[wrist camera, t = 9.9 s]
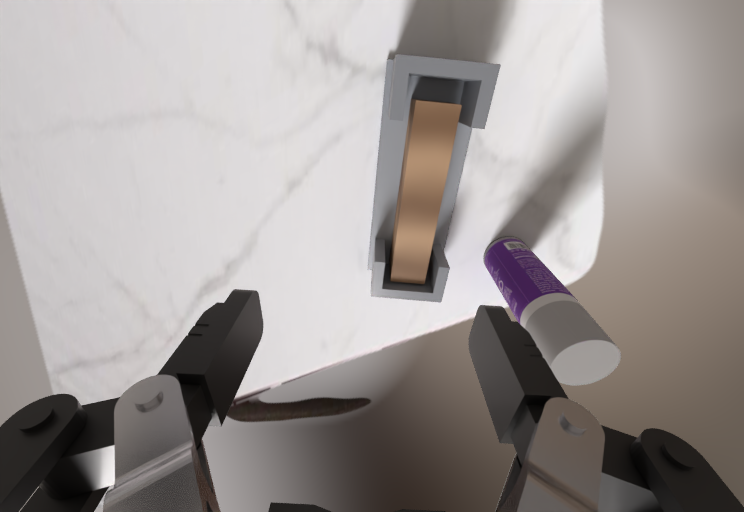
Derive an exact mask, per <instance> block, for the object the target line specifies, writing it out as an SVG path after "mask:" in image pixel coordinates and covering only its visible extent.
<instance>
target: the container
mask: <svg viewBox="0 0 744 512" xmlns="http://www.w3.org/2000/svg"><path fill="white" fill-rule="evenodd" d="M484 264H485V266H486V268H487V269H488V271H489V273H490V275H491V276H492V278H493V280H494V281H495V283H496V285H497V286H498V288H499V290H500V292H501V293H502V295H503V297H504V298H505V300H506V302H507V303H508V305H509V307H510V308H511V310H512V312H513V314H514V315H515V317H516V319H517V320H518V322H519V324H520V325H521V326H523V327H524V328H525V329H526V330H527V331H528V332H529V333H530V335H531V336H532V338H533V340H534V341H535V343H536V345H537V348H539V350H540V352H541V353H542V355H543V358H545V360H546V362H547V363H548V365H549V367H550V368H551V370H552V372H553V373H554V375H555V377H556V379H557V380H558V381H559V382H561V383H563V384H567V385H585V384H589V383H593V382H596V381H598V380H600V379H602V378H604V377H606V376H607V375H609V374H610V373H611V372H612V371H613V370H614V369H615V368H616V367H617V365H618V364H619V362H620V359H621V353H620V350H619V348H618V347H617V346H616V345H615V343H614V342H613V341H612V340H611V339H610V338H609V337H608V335H607V334H606V333H605V332H604V331H603V330H602V329H601V327H600V326H599V325H598V324H597V323H596V321H595V320H594V319H593V318H592V317H591V316H590V315H589V313H588V312H587V311H586V310H585V309H584V308H583V307H582V305H581V304H580V303H579V302H578V300H577V299H576V298H575V297H574V296H573V295H572V294H571V293H570V292H569V291H568V290H567V289H566V287H565V286H564V285H563V284H562V283H561V282H560V281H559V280H558V279H557V278H556V277H555V276H554V275H553V273H552V272H551V271H550V270H549V269H548V268H547V267H546V266H545V265H544V264H543V263H542V262H541V261H540V260H539V258H538V257H537V256H536V255H535V254H534V253H533V252H532V251H531V250H530V249H529V248H528V247H527V246H526V244H525V243H524V242H523V241H521V240H520V239H518V238H515V237H503V238H500V239H498V240H496V241H494V242H493V243H491V244H490V245H489V246H488V248H487V249H486V251H485V253H484Z"/></svg>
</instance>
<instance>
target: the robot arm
mask: <svg viewBox="0 0 744 512" xmlns="http://www.w3.org/2000/svg"><path fill="white" fill-rule="evenodd" d="M262 333H263V318H262V312H261V306H260V300H259V294H258V292H257V291H254V290H238V289H235V290H233V291H232V292H231V294H230V295H229V297H228V298H227V300H226V301H225V302H224V303H216V304H215V305H213V306H212V307H211V308H209V309H208V310H206V311H205V312H204V313H203V314H202V316H201V317H200V318H199V320H198V321H197V322H196V324H195V326H193V328H192V329H191V330H190V332H189V333H188V336H186V337H185V338H184V340H183V341H182V342H181V344H180V345H179V346H178V348H177V349H176V350H175V352H174V353H173V354H172V356H171V357H170V358H169V360H168V361H167V362H166V364H165V365H164V366H163V368H162V369H161V370H160V372H159V373H158V374H157V375H156V376H151V377H148V378H146V379H143V380H141V381H139V382H138V383H136V384H134V385H133V386H131V387H130V388H129V389H128V390H126V391H125V392H124V393H123V394H122V396H121V397H119V398H115V399H110V400H105V401H101V402H96V403H91V404H87V405H82V406H81V405H80V403H79V402H78V400H77V399H76V398H75V397H74V396H72V395H69V394H57V395H51V396H48V397H45V398H42V399H39V400H37V401H35V402H33V403H31V404H29V405H27V406H25V407H24V408H22V409H21V410H19V411H18V412H16V413H15V414H14V415H12V416H11V417H10V418H9V419H8V420H7V421H6V422H5V423H4V424H3V425H2V426H1V427H0V512H19V510H20V509H21V508H22V507H23V505H24V504H25V503H26V501H27V500H28V499H29V498H30V496H31V495H32V494H33V492H34V491H35V490H36V489H37V487H38V486H39V488H38V489H37V490H36V492H35V493H34V494H33V496H32V497H31V498H30V499H29V501H28V502H27V503H26V505H25V506H24V507H23V509H22V510H21V511H20V512H94V511H95V509H96V507H97V506H98V504H99V502H100V501H101V499H102V497H103V496H104V494H105V492H106V491H107V489H108V488H109V486H111V485H114V484H115V485H114V488H113V489H111V490H109V491H107V493H106V495H105V498H104V505H103V512H221V511H220V508H219V504H218V501H217V497H216V493H215V489H214V485H213V481H212V477H211V473H210V469H209V465H208V460H207V456H206V452H205V448H204V444H203V440H202V437H203V435H204V433H205V431H206V429H207V427H208V426H222V424H223V422H224V420H225V417H226V415H227V413H228V411H229V409H230V406H231V404H232V402H233V400H234V398H235V395H236V393H237V391H238V389H239V386H240V384H241V382H242V380H243V378H244V375H245V373H246V371H247V369H248V367H249V364H250V362H251V360H252V358H253V355H254V353H255V351H256V349H257V347H258V344H259V342H260V340H261V337H262ZM469 351H470V354H471V358H472V361H473V364H474V367H475V370H476V373H477V376H478V379H479V382H480V385H481V388H482V391H483V394H484V397H485V400H486V403H487V406H488V409H489V412H490V415H491V418H492V421H493V424H494V427H495V430H496V433H497V436H498V439H499V442H500V443H508V444H514V447H515V450H516V452H517V454H516V455H515V457H514V460H513V462H512V466H511V468H510V471H509V474H508V477H507V479H506V482H505V485H504V488H503V491H502V494H501V497H500V499H499V502H498V505H497V508H496V511H495V512H744V507H743V506H742V504H741V503H740V502H739V501H738V499H737V498H736V497H735V496H734V494H733V493H732V492H731V491H730V489H729V488H728V487H727V486H726V484H725V483H724V482H723V481H722V479H721V478H720V477H719V476H718V475H717V473H716V472H715V471H714V470H713V468H712V467H711V466H710V465H709V463H708V462H707V461H706V460H705V459H704V458H703V456H702V455H701V454H700V453H699V452H698V451H697V450H696V449H694V448H693V447H692V446H691V445H689V444H688V443H687V442H685V441H684V440H682V439H681V438H679V437H677V436H675V435H673V434H671V433H669V432H666V431H664V430H660V429H655V428H654V429H653V428H651V429H646V430H644V431H643V432H642V433H641V434H640V435H639V437H638V438H636V437H634V436H631V435H628V434H625V433H622V432H619V431H616V430H613V429H610V428H608V427H605V426H602V425H601V424H600V423H599V421H598V420H597V419H596V417H595V416H594V415H593V414H592V413H591V412H590V411H588V410H587V409H586V408H585V407H583V406H582V405H580V404H578V403H577V402H574V401H572V400H570V399H568V397H567V395H566V394H565V392H564V390H563V389H562V387H561V385H560V384H559V382H558V380H557V379H556V377H555V375H554V373H553V372H552V370H551V368H550V367H549V365H548V363H547V362H546V360H545V358H543V355H542V353H541V352H540V350H539V348H537V345H536V343H535V341H534V340H533V338H532V336H531V335H530V333H529V332H528V331H527V330H526V329H525V328H524V327H523V326H521V325H520V324H519V323H518V322H512V321H511V320H510V318H509V316H508V314H507V313H506V311H505V309H504V308H503V307H501V306H486V305H480V306H479V308H478V310H477V313H476V316H475V319H474V323H473V326H472V329H471V332H470V336H469ZM269 512H331V511H328V510H326V509H323V508H321V507H318V506H316V505H308V504H289V503H271V504H270V508H269ZM396 512H443V511H426V510H406V509H402V510H399V511H396ZM444 512H445V511H444Z"/></svg>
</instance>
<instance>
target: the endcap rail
mask: <svg viewBox="0 0 744 512" xmlns="http://www.w3.org/2000/svg"><path fill="white" fill-rule="evenodd" d="M499 69H500V64H491V63H481V62H471V61H461V60H452V59H442V58H432V57H422V56H412V55H403V54H396V56H395V58H394V60H391V59H387V66H386V77H385V88H384V98H383V109H382V120H381V131H380V141H379V152H378V163H377V173H376V184H375V195H374V205H373V216H372V227H371V237H370V248H369V259H368V270H372V281H371V296H372V297H384V298H396V299H407V300H419V301H431V302H441V301H442V297H443V293H444V289H445V285H446V281H447V277H448V273H449V269H450V267H449V265H448V262H447V260H446V257H445V255H444V252H443V251H444V247H445V243H446V238H447V234H448V230H449V225H450V221H451V217H452V212H453V208H454V204H455V200H456V195H457V191H458V187H459V182H460V178H461V174H462V169H463V165H464V161H465V156H466V152H467V148H468V143H469V139H470V135H471V130H472V128H480V129H485V125H486V121H487V117H488V113H489V109H490V105H491V101H492V97H493V93H494V89H495V85H496V81H497V77H498V73H499ZM411 99H421V100H431V101H441V102H451V103H455V104H460V105H462V107H461V111H460V116H459V121H458V126H457V131H456V135H455V140H454V145H453V150H452V154H451V159H450V164H449V169H448V174H447V178H446V183H445V188H444V193H443V197H442V202H441V207H440V212H439V217H438V221H437V226H436V231H435V236H434V240H433V245H432V250H431V255H430V259H429V264H428V269H427V274H426V279H425V283H424V284H417V283H405V282H394V281H390V266H389V259H390V251H391V244H392V237H393V229H394V222H395V214H396V207H397V199H398V192H399V184H400V177H401V169H402V162H403V154H404V147H405V140H406V132H407V125H408V117H409V110H410V102H411Z"/></svg>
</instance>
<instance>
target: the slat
mask: <svg viewBox="0 0 744 512" xmlns="http://www.w3.org/2000/svg"><path fill="white" fill-rule="evenodd" d="M461 107H462V105H460V104H455V103H451V102H441V101H431V100H421V99H411V102H410V110H409V117H408V125H407V132H406V140H405V147H404V154H403V162H402V169H401V177H400V184H399V192H398V199H397V207H396V214H395V222H394V229H393V237H392V244H391V251H390V259H389V266H390V281H394V282H405V283H417V284H424V283H425V279H426V274H427V269H428V264H429V259H430V255H431V250H432V245H433V240H434V236H435V231H436V226H437V221H438V217H439V212H440V207H441V202H442V197H443V193H444V188H445V183H446V178H447V174H448V169H449V164H450V159H451V154H452V150H453V145H454V140H455V135H456V131H457V126H458V121H459V116H460V111H461Z"/></svg>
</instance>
